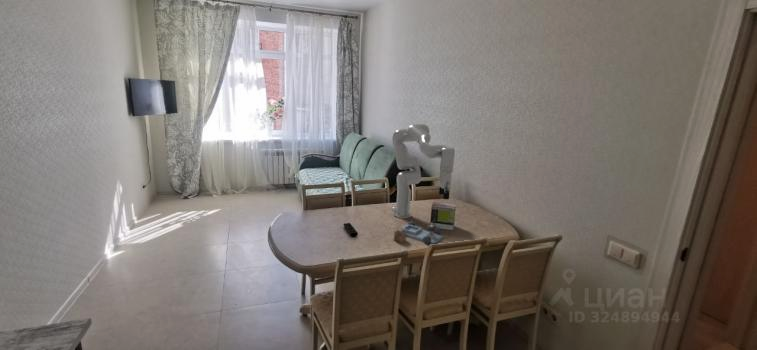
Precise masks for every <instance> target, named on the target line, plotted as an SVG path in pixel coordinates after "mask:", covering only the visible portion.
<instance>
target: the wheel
mask: <svg viewBox="0 0 757 350" xmlns="http://www.w3.org/2000/svg"><path fill="white" fill-rule="evenodd" d="M436 229H437V228H436V226H435V225H430V224H428V225H427V226H426V231H428V232H430V234H432V233H434V231H436Z"/></svg>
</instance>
